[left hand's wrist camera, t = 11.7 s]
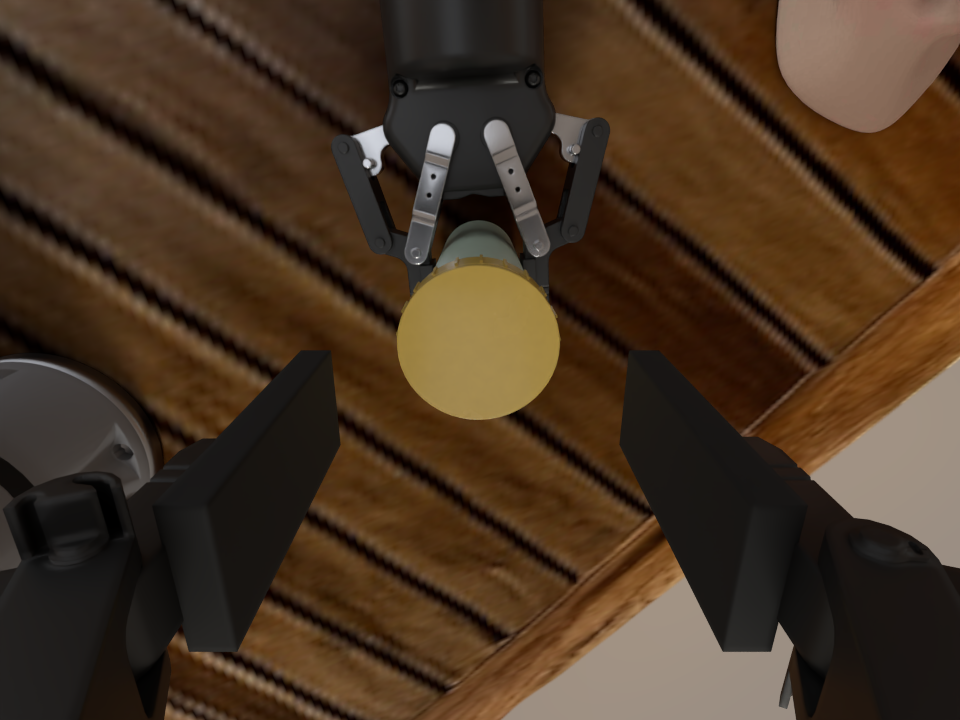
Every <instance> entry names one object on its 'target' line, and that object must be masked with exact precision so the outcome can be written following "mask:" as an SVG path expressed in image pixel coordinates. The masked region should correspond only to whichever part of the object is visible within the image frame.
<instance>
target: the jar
mask: <svg viewBox="0 0 960 720" xmlns="http://www.w3.org/2000/svg"><path fill="white" fill-rule="evenodd" d="M480 254H483V257H490V258H495V259H499V260H502V261H503V259H506V260H507V262H508V263H510V264H512V265H514V266H516V267H518V268H520V269H521V270H523V268H522V266H521V263H520V261H519V259H518V256H517V254H516V251H515V249H514V247H513V244H512V242H511V240H510V238H509V237H508V235H507V234H506V233H505V231H504V230H502V229H501V228H500V227H499V226H497V225H495V224H493V223H491V222H488V221H480V220H477V221H470V222H467V223H464V224H462V225H461V226H459V227H458V228H456V229H455V230H454V231H453V232H452V233H451V235H450V236H449V237H448V239H447V241H446V243H445V246H444V248H443V250H442V253H441V255H440V257H439V260H438V262H437V264H436V266H437V268H439V267H441V266H443V265H444V264H446V263H449V262H452V261H454V260H455V259H456V257H459V259H462V258H466V257H480ZM523 271H524V270H523Z"/></svg>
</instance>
